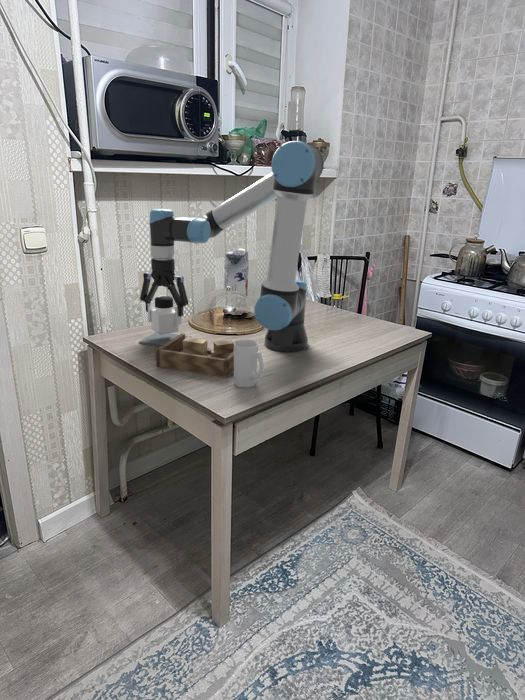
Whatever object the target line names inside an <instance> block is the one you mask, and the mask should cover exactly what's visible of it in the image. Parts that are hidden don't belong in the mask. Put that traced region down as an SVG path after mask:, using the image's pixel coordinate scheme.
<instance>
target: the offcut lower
mask: <svg viewBox="0 0 525 700" xmlns="http://www.w3.org/2000/svg"><path fill="white" fill-rule="evenodd" d="M211 350H212V351H211V354H210V357H216V358H222V359H226V358H227V357H228V356H229V355H230V354H231V353H232V352H231V353H224V354H216V353H215V352H214V348H213V349H211Z"/></svg>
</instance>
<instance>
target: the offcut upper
mask: <svg viewBox="0 0 525 700" xmlns="http://www.w3.org/2000/svg"><path fill="white" fill-rule="evenodd" d="M234 342H235V341H234V340H232V339H228V340H221V341H214V342H213V349H214V352H215V353H216V354H224V353H231V352H233V351H234Z"/></svg>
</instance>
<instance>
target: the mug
mask: <svg viewBox="0 0 525 700" xmlns="http://www.w3.org/2000/svg"><path fill="white" fill-rule="evenodd" d="M233 342H234V371H233V383H234V385H235V386H237V387H238V388H243V389H244V388H251V387H252V388H253V387H254V386H255V385H256V384H257V381H258V380H260V379H261V376H262V374H263V371H264V359H263V356H262V352H261V351H259V343H258V341H256V340H254V339H252V340H251V339H237V340H236V341H235V340H234V341H233ZM258 363H259V367H258ZM258 368H259V369H258ZM257 371H258V372H257Z"/></svg>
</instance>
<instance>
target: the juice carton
mask: <svg viewBox="0 0 525 700" xmlns="http://www.w3.org/2000/svg"><path fill="white" fill-rule="evenodd" d="M224 255H225V256H224V270H223V271H224V274H223V276H224V281H223V282H224V285H223V286H224V289H225V288H226V287H227V286H230V287H231V290H232V291H238V292H240V293H242V294H244V295H246V296H247V297H248V295H249V294H248V293H249V291H248V290H249V251H247V250H246V249H244V248H238V249H237V250H229V251H228V252H226V253H225V254H224ZM224 289H223V290H224Z"/></svg>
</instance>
